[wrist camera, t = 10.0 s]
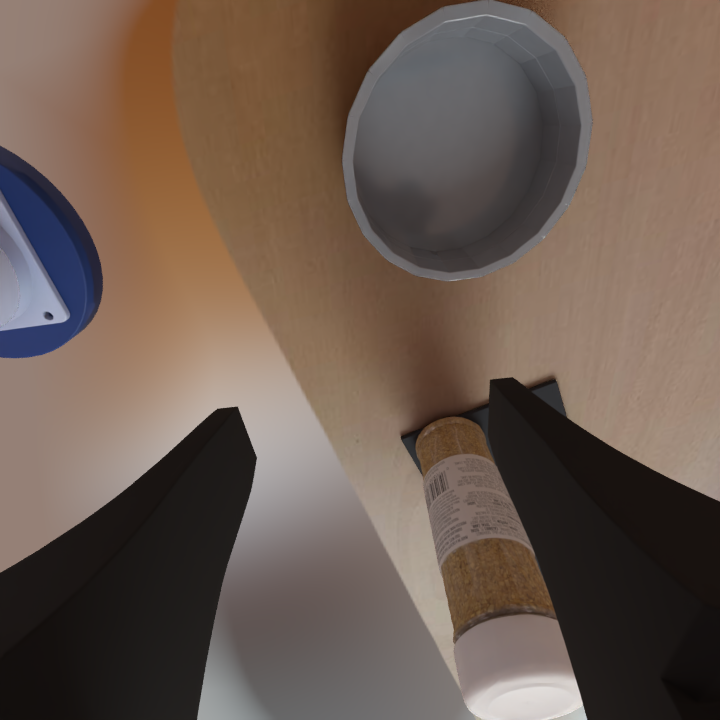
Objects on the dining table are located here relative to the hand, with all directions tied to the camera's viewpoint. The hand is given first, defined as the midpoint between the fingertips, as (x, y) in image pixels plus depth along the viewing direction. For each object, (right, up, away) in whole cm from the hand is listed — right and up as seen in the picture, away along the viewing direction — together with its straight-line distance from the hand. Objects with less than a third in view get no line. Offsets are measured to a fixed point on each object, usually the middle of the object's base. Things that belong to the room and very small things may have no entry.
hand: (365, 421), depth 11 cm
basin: (+4, +11, +6) cm, 13 cm away
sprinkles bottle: (+6, -3, +14) cm, 16 cm away
